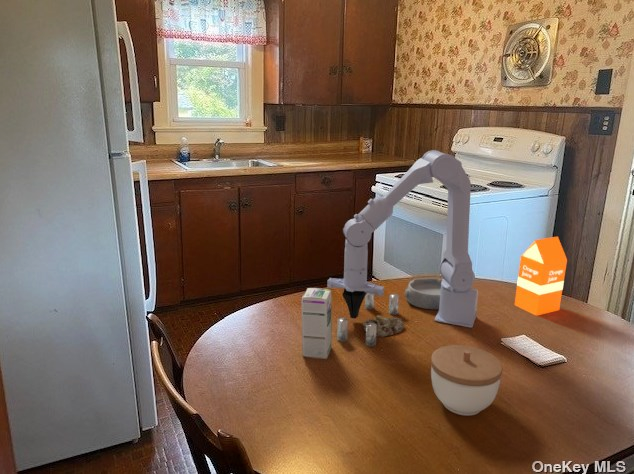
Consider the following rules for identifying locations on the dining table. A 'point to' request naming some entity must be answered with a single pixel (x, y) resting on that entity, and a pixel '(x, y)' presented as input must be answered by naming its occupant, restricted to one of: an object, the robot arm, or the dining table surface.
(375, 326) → the spacer posts
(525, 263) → the orange juice
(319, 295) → the syrup box
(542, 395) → the dining table surface
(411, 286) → the dish
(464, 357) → the lidded bowl
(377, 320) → the mineral rock
